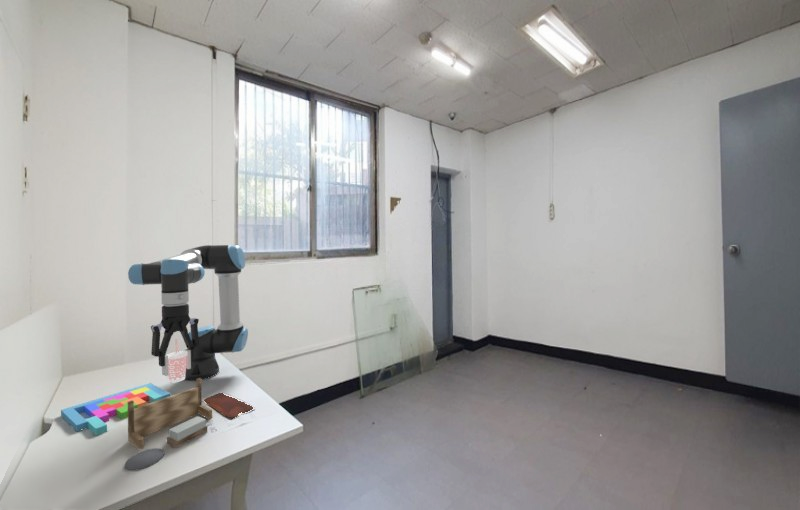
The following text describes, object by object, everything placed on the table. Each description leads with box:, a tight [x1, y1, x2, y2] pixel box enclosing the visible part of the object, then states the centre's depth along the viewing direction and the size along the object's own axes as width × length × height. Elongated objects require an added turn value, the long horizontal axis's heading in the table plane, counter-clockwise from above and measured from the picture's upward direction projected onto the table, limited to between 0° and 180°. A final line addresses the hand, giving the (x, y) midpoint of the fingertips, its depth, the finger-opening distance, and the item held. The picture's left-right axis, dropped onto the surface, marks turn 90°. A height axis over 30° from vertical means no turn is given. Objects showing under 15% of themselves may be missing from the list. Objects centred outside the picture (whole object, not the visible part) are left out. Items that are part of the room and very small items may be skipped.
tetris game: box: [60, 382, 172, 436], centre depth 122 cm, size 28×3×28 cm
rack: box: [127, 378, 213, 451], centre depth 109 cm, size 22×9×13 cm, turn 149°
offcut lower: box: [166, 425, 208, 449], centre depth 104 cm, size 10×5×2 cm, turn 150°
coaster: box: [124, 447, 165, 471], centre depth 93 cm, size 9×9×1 cm
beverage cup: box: [166, 338, 187, 384], centre depth 107 cm, size 6×6×14 cm
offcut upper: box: [168, 415, 207, 441], centre depth 104 cm, size 9×5×2 cm, turn 154°
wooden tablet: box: [203, 392, 254, 420], centre depth 126 cm, size 27×10×2 cm, turn 54°
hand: (176, 371), depth 107 cm, fingers closed on beverage cup, 6 cm apart
